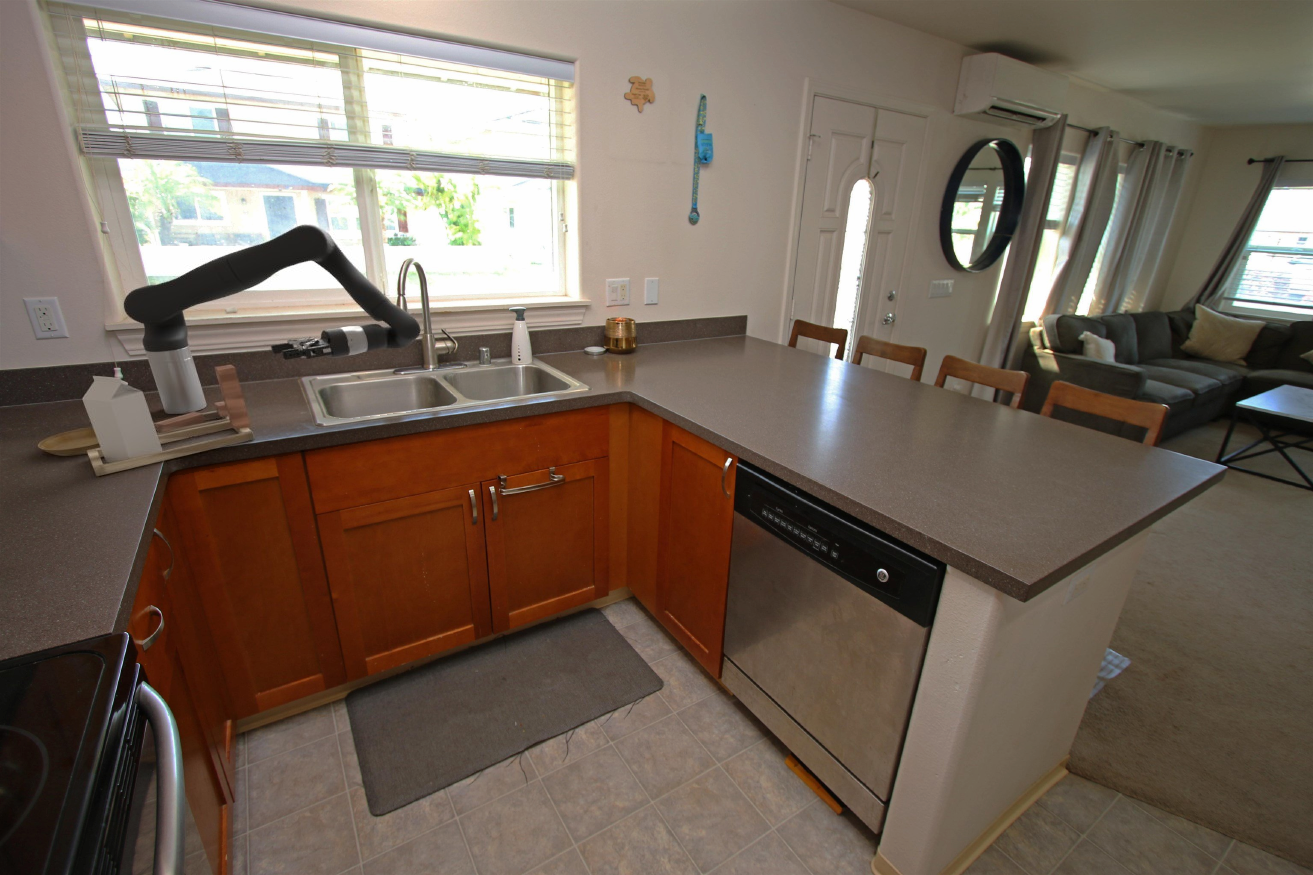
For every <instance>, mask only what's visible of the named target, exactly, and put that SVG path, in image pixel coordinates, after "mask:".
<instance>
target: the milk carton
mask: <svg viewBox="0 0 1313 875" xmlns="http://www.w3.org/2000/svg"><path fill="white" fill-rule="evenodd" d="M92 378H93V382H92V383H91V385H90V387H89V388H88V390H86V393H85V394H84V396H83V397H82V401H83V405H84V407H85V410H86V413H87V415H88V417H89V421H90V423H91V426H92V427H93V429H94V431H95V434H96V436H97V439H98V442H99V444H100V447H101V450H102V452H103V455H104V456H103V457H104V460H105V462H106V464H108V463H112V462H116V461H121V460H125V459H130V458H134V457H138V456H143V455H147V454H152V453H156V452H160V451H163V448H162V444H160V442H159V439H158V436H157V433H158V432H157V431H156V430H155V427H154V424H153V423H154V421H153V419H152V415H151V412H150V409H149V406H148V403H147V401H146V398H145V395H144V393H143V391H142V390H141V389H138V388H135V387H133V386H130V385H128V384H129V383H128V382H127V381H124V380H122V378H120V377H109V376H99V375H97V376H96V375H92Z"/></svg>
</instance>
